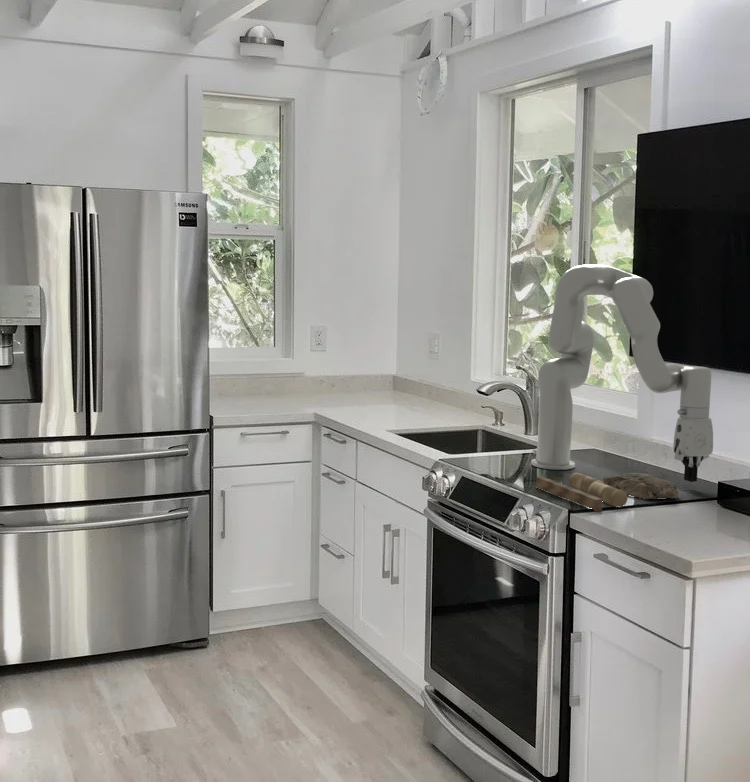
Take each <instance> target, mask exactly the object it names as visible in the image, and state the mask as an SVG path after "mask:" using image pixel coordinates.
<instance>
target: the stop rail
mask: <svg viewBox="0 0 750 782" xmlns="http://www.w3.org/2000/svg"><path fill="white" fill-rule="evenodd" d="M536 487H537V488H540V489H543V490H545V491H548V492H550V493H552V494H555V495H557V496H560V497H563V498H566V499H569V500H572V501H574V502H577V503H579V504H582V505H585V506H587V507H589V508H592V509H593V510H594V511H595V512H594V511H593V512H594V513H597V512H599V513H600V512H603V502H602V500H603V499H601V498H598V497H595V496H593V495H590V494H587V493H585V492H582V491H580V490H577V489H574V488H572V487H570V486H568V485H567V484H563V483H561V482H558V481H556V480H553V479H550V478H547V477H545V476H536V477H535V488H536ZM537 488H536V489H537Z"/></svg>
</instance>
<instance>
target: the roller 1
mask: <svg viewBox="0 0 750 782" xmlns="http://www.w3.org/2000/svg"><path fill="white" fill-rule="evenodd" d="M593 482H600V483H603V484H604V480H600V479H597V478H594V477H591V476H589V475H586V474H583V473H580V472H576V471H575V472H573V473H571V474H570V475H569V478H568V485H569V487H572V488H574V489H577V490H580V491H582V492H585V493H587V494H589V493H588V489H589V486H590V485H591V484H592V483H593Z"/></svg>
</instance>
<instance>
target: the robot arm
mask: <svg viewBox="0 0 750 782" xmlns="http://www.w3.org/2000/svg"><path fill="white" fill-rule="evenodd" d="M591 295H592V296H599V295H600V296H601V295H602V296H604V297H607V298H611V299H612V302H613V303H614V305H615V307H616V310H617V311H618V314H619V315H620V317H621V319H622V322H623V324H624V325H625V328H626V330H627V332H628V334H629V337H630V339H631V344H630V345H631V349H632V357H633V360H634V364H635V366H636V368H637V371H638V373H639V374H640V377H641V379H642V380H643V382H644V384H645V386H646V387H647V388H648V389H649V390H651V392H653V393H656V394H665V393H670V392H675V391H676V392H677V391H680V396H679V397H680V399H679V401H680V403H679V409H678V410H677V414H678V416H679V417H677V420H676V425H675V427H674V428H675V429H674V436H673V445H672V446H673V449H672V450H673V453H674V456H673V457H674V460H677V461H680V462H681V463H682V466H684V473H683V474H684V475H683V480H684V481H687V482H690V483H694V482H695V483H696V482H697V481H698V468H699V467H700V466H701V463H702V461H703V460H705V459H708V458H709V457H710V455H711V454H713V451H714V429H713V428H714V427H713V421H712V418H711V417H710V405H711V389H712V387H711V386H712V371H711V368H709V367H706V366H697V365H694V366H691V365H690V366H689V365H684V364H680V363H672V362H671V363H665V360H664V359H663V357H662V354H661V353H660V350H659V349H660V348H659V346H658V337H659V336H658V335H659V332H660V329H661V322H660V320H659V318H658V317H657V314H656V313H655V311H654V309H653V306H652V305H651V302H652V300H653V297H654V289H653V285H652V284H651V283H650V282H649V281H648V279H646V278H644V277H641V276H638V275H636V274H633V273H631V272H626V271H625V270H622V269H619V268H616V267H614V266H609V265H606V264H605V265H604V264H582V265H581V264H580V265H576V266H574V267H572V268H570V269H568V270H566V271H565V272H564V273H563V274H562V275H561V277H560V278H559V280H558V283H557V285H556V289H555V298H554V306H553V309H552V310H553V311H552V316H551V321H550V327H549V334H548V346H549V348H550V350H551V351H552V352H554V353H556V354H558V355H559V354H560V357H557V358H551V359H548V360H547V361H545V362H544V363H543V364H542V365H541V366H540V368H539V371H538V375H537V382H538V389H539V390H538V391H539V408H538V409H539V410H538V411H539V414H538V431H537V447H536V448H534V449H533V450H532V453H533V454H535V458H533V459H531V461H530V463H531V464H530V465H531V466H533V467H536V468H540V469H544V470H545V469H546V470H552V471H553V470H554V471H556V470H557V471H559V470H560V471H563V470H566V471H567V470H571V469H574V468H575V467H576V462H575V461H572V460H571V445H572V429H573V405H574V404H573V397H572V393H571V392H572V391H571V390H574V389H576V388H577V389H578V388H579V387H581V386H583V384H584V383H585V382H586V380H587V378H588V375H589V371H590V366H591V359H592V356H593V355H592V354H593V350H594V349H593V348H594V343H595V341H594V340H595V339H594V332H593V329H592V328H591V326H590V325H589V324H588V323H586V322H585V321H583V318H584V317H583V316H584V312H585V311H584V310H585V301H584V297H586V296H591Z"/></svg>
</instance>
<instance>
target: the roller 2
mask: <svg viewBox="0 0 750 782" xmlns="http://www.w3.org/2000/svg"><path fill="white" fill-rule="evenodd" d="M588 493H589V494H590V495H593V496H595V497H598V498H601V499H603V500H602V501H603V502H602V503H604V502H605V503H604V504H606V503H608V504H607V505H609V504H610V505H609V506H611V505H613V506H612V507H614V506H623V505H624V506H625V505H626V504H627V502H628V496H627V494H626V493H625V492H624V491H622V490H619V489H617V488H614V487H611V486H608V485H605V484H603V483H600V482H593V483H592V484H591V485H590V486H589V489H588ZM624 506H623V507H624Z"/></svg>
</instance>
